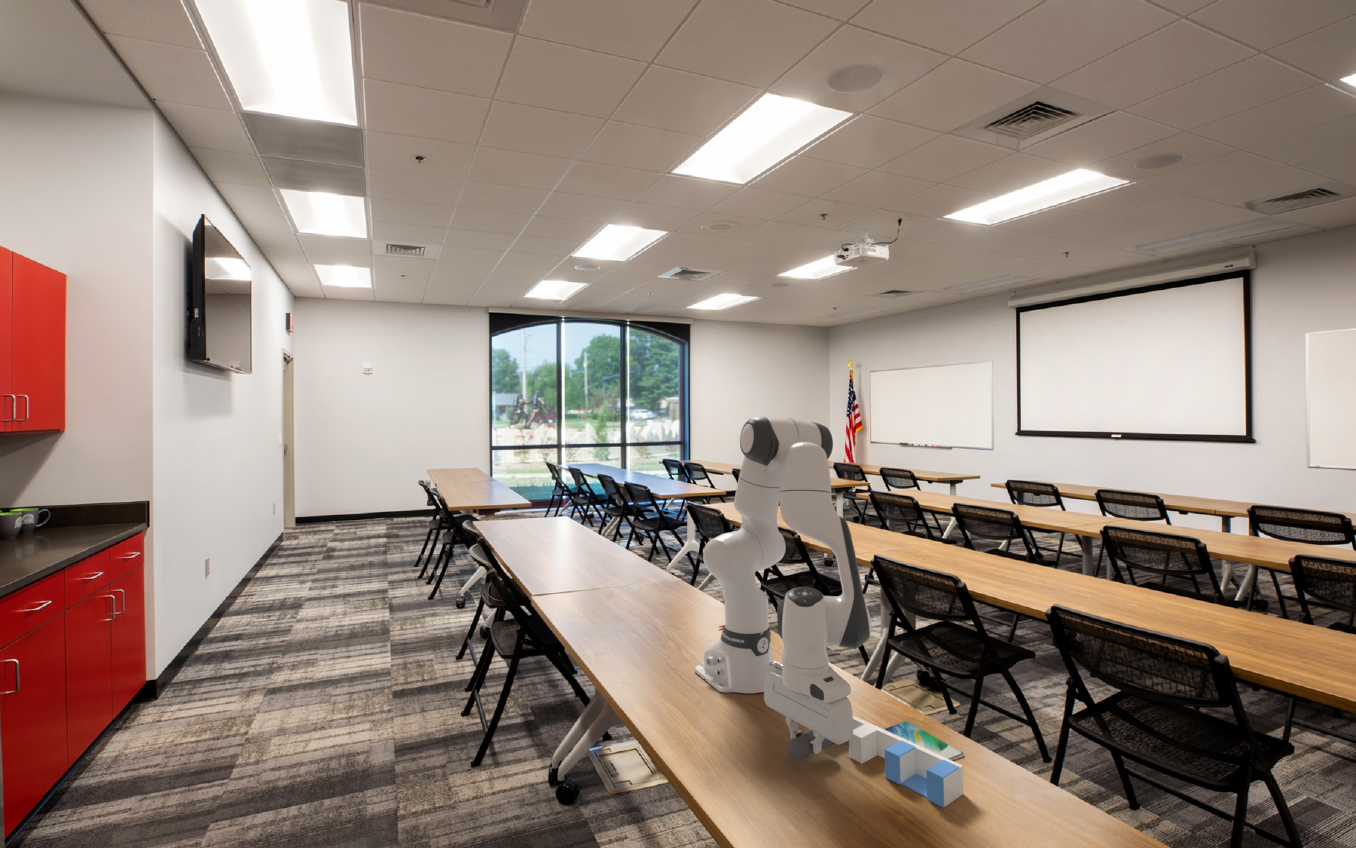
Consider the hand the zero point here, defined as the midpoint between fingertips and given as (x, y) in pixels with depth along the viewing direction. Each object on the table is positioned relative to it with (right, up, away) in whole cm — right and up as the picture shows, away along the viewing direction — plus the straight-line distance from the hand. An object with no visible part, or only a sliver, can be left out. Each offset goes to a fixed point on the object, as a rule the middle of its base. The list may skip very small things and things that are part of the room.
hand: (805, 745), depth 119 cm
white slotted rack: (+15, -3, 0) cm, 16 cm away
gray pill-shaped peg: (+1, -2, +1) cm, 2 cm away
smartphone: (+26, -4, +7) cm, 27 cm away
